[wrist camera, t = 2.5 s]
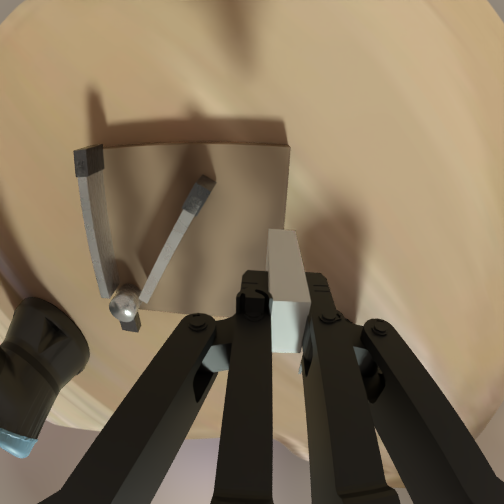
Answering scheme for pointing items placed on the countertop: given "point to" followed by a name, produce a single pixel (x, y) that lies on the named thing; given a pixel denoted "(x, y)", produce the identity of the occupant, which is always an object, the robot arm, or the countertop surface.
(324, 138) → the countertop surface
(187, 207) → the tong arm
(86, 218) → the tongs fixed
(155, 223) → the board
